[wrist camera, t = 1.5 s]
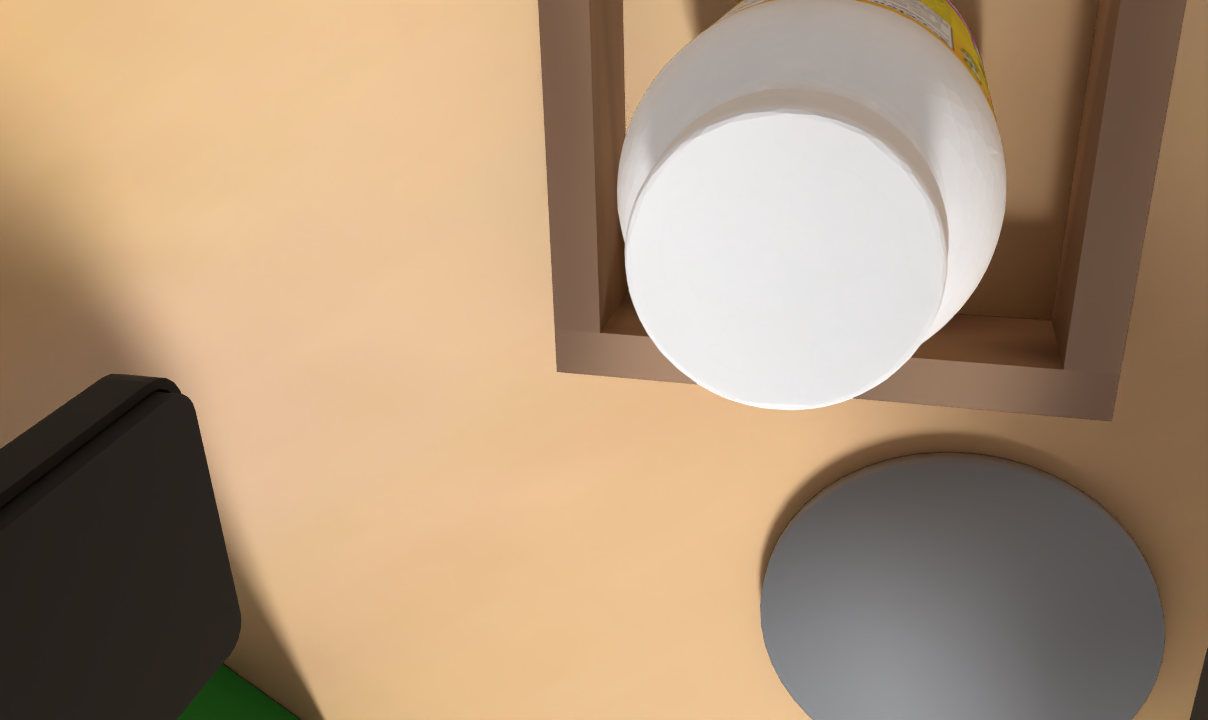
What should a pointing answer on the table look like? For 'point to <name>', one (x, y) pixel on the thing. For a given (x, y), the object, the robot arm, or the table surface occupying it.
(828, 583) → the mat
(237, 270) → the table surface
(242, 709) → the milk carton
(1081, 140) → the holder
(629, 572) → the table surface
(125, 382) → the robot arm
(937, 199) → the supplement bottle
